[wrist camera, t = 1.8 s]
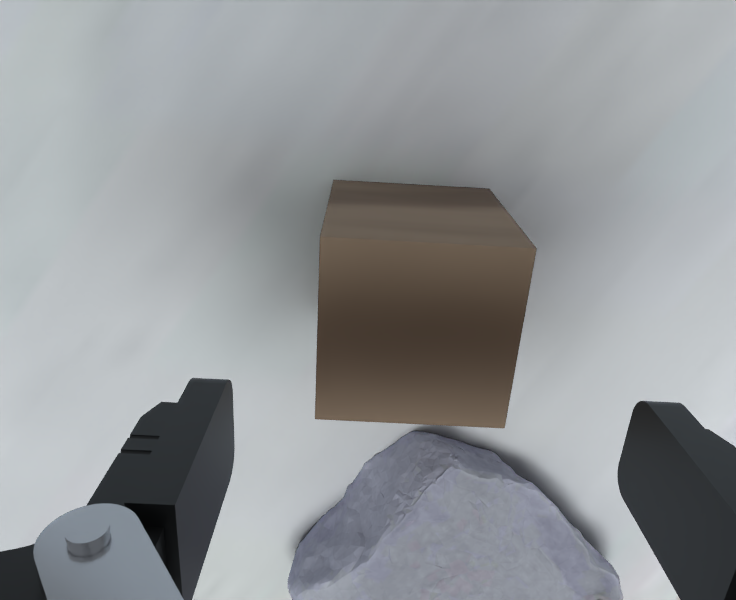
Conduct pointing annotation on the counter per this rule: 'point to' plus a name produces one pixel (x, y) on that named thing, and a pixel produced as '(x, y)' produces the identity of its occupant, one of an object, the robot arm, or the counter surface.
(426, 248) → the walnut block
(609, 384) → the counter surface
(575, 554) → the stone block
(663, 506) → the robot arm
